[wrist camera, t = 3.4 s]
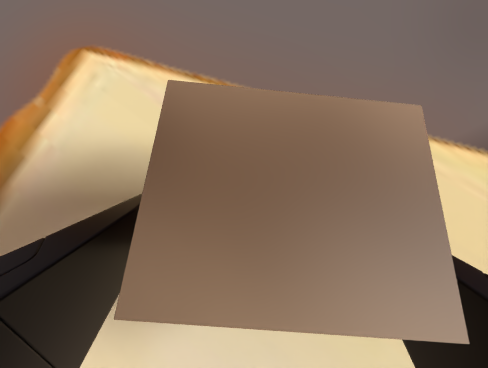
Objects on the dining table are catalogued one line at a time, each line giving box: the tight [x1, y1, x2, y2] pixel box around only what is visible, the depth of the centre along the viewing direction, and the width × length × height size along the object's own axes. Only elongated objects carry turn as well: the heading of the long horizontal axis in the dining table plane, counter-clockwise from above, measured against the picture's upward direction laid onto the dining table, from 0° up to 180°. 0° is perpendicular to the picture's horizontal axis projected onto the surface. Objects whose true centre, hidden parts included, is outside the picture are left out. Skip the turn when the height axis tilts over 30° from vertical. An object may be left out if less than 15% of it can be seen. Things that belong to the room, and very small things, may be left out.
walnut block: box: [114, 80, 469, 344], centre depth 9 cm, size 4×5×13 cm
